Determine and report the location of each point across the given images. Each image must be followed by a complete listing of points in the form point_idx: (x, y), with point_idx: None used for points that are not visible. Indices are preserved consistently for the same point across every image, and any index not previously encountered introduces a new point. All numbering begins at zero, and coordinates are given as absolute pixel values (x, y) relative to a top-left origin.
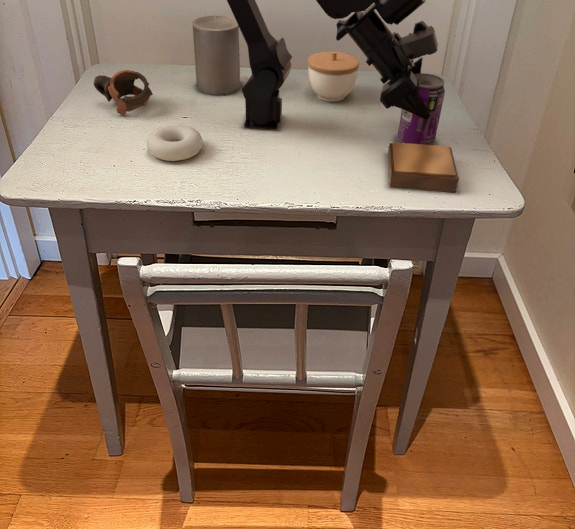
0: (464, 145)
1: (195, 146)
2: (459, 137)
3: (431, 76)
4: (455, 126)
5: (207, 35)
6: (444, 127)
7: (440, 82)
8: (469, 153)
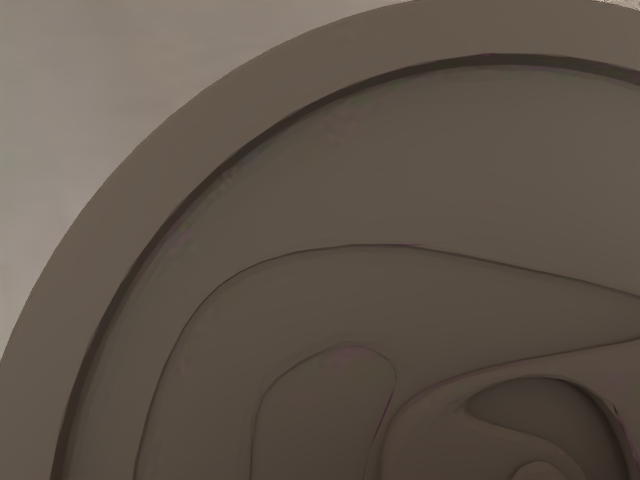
0: (292, 32)
1: None
2: (180, 63)
3: (103, 387)
4: (4, 90)
5: None
6: (42, 167)
7: (502, 103)
8: (393, 4)
